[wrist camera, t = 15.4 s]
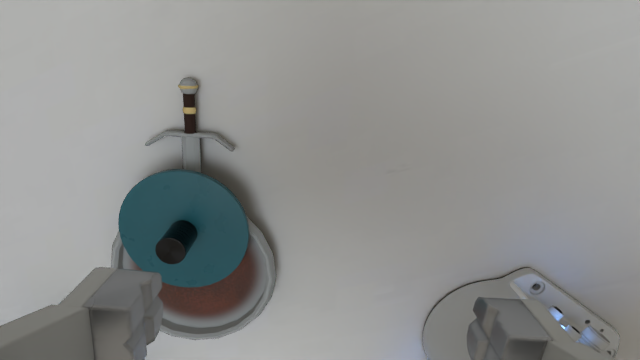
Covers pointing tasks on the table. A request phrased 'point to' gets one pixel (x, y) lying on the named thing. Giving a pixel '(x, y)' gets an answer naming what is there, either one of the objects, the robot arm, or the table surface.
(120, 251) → the frying pan
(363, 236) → the table surface
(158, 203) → the lid
